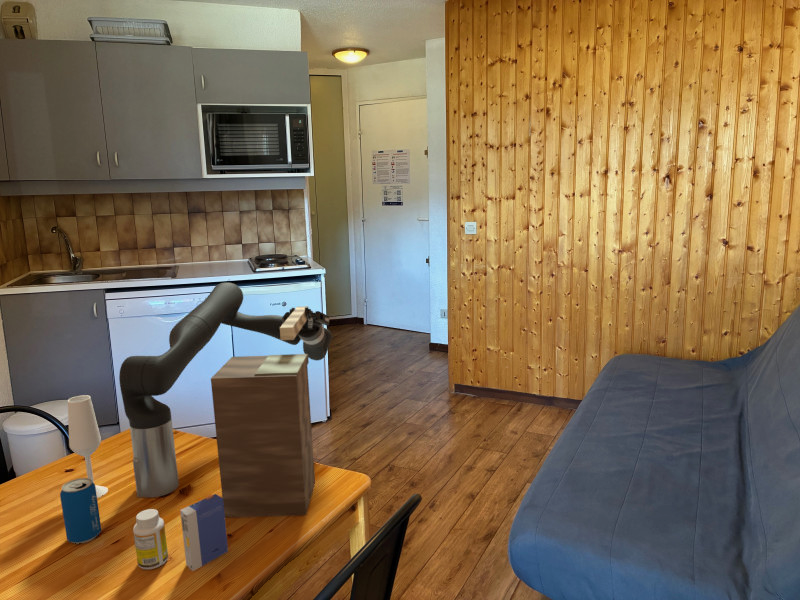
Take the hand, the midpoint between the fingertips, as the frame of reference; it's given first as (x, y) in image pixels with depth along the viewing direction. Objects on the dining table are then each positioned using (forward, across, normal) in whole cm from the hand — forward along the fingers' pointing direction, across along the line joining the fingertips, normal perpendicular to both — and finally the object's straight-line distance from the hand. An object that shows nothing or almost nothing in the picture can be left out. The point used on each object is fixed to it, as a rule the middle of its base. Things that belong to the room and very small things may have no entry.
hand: (299, 310), depth 156 cm
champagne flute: (-1, -49, +44) cm, 66 cm away
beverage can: (+15, -41, +54) cm, 69 cm away
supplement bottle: (+23, -23, +58) cm, 67 cm away
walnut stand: (+3, -5, +46) cm, 47 cm away
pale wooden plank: (+4, 0, +6) cm, 7 cm away
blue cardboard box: (+22, -12, +58) cm, 63 cm away
